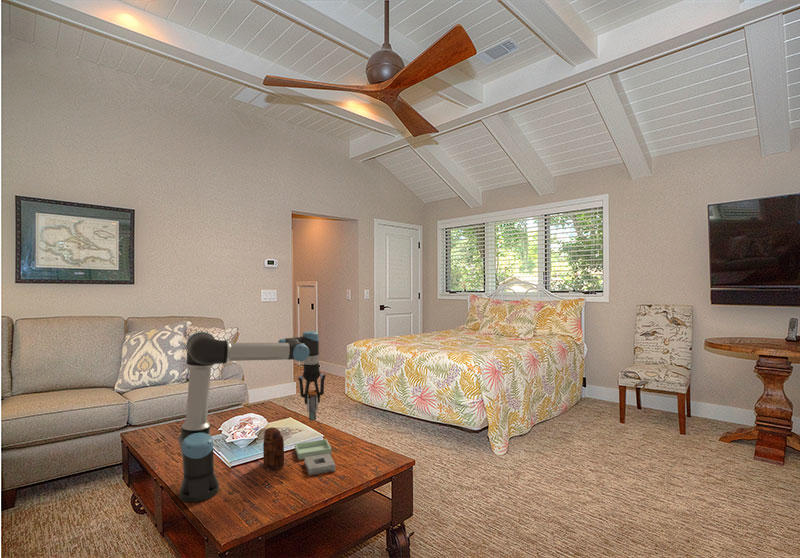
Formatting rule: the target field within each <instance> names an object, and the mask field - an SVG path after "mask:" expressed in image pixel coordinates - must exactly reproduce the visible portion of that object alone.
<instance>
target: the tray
mask: <svg viewBox="0 0 800 558" xmlns="http://www.w3.org/2000/svg"><path fill="white" fill-rule="evenodd" d="M294 450H295V454H296V456H297V459H298V460H299V461H300V460H304V458H305V457H311V456H317V455H323V454H329V453H330V455H331V456H332V453H333V452H332V447H331V444H330V443H329V441H328V439H327V438H323V439H318V440H316V439H315V440H310V441H304V442H298V443H294Z"/></svg>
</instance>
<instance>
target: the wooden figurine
mask: <svg viewBox="0 0 800 558" xmlns="http://www.w3.org/2000/svg"><path fill="white" fill-rule="evenodd" d="M263 433H264V434H263V435H264V436H263V444H262V446H263V449H262V450H263V461H262V462H263V467H264V468H265V469H268V470H269V469H270V470H277V471H279V470H282V469H283V468H284V466H285V449H284V446H285V443H284V437H283V435H282V434H281V431H280V430H279V429H278V428H276V427H274V426H272V427H268V428H266V429H265V430H264V432H263Z"/></svg>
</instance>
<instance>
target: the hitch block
mask: <svg viewBox="0 0 800 558" xmlns="http://www.w3.org/2000/svg"><path fill="white" fill-rule="evenodd" d="M303 460H304V466H305V469H306V472H307V474H308V476H314V475H320V474H325V473H330V472H335V471H336V463H335V461H334V459H333V457H332V454H331V455H330V453H329V454H323V455H317V456H311V457H305V458H304V459H303Z"/></svg>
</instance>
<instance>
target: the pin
mask: <svg viewBox="0 0 800 558" xmlns="http://www.w3.org/2000/svg"><path fill="white" fill-rule="evenodd" d="M316 395H317V391H316V389H309V391H308V397H309V411H308V420H309V421H310V422H311V421H314V422H315V421H316V420H317V410H316Z"/></svg>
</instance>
